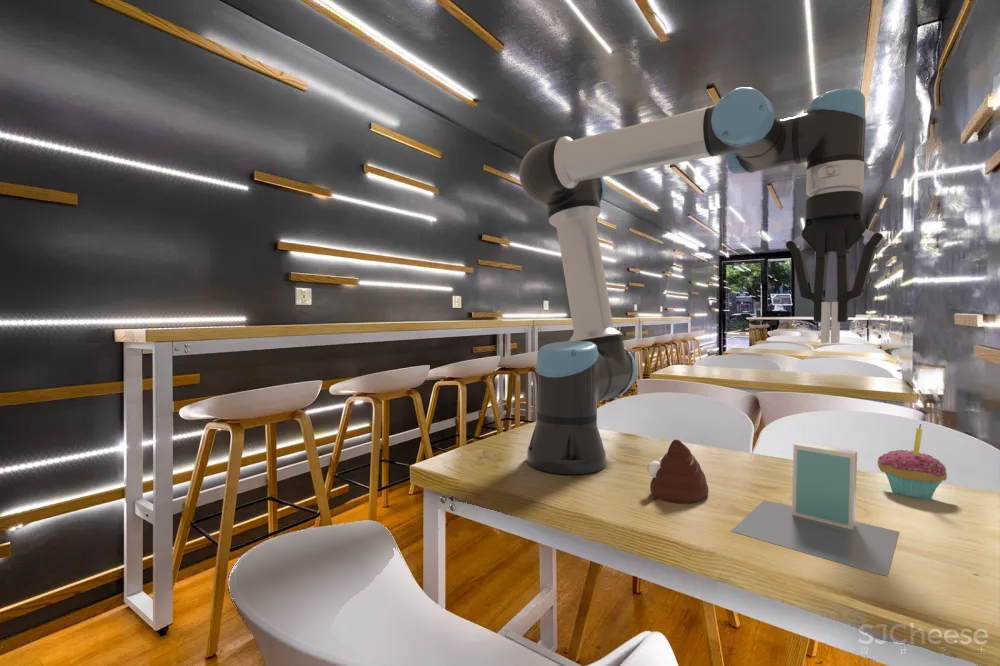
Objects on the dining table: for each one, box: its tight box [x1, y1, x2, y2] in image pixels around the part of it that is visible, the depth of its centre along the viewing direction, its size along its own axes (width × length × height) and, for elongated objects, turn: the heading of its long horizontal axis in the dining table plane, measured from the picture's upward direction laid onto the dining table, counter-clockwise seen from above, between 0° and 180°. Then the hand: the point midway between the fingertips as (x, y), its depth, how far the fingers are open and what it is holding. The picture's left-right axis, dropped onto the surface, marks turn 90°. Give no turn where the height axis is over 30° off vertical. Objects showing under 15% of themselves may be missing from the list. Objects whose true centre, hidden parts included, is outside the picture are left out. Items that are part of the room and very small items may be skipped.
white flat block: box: [791, 441, 858, 530], centre depth 67 cm, size 7×2×10 cm, turn 47°
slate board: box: [730, 499, 900, 578], centre depth 63 cm, size 16×15×1 cm
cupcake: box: [877, 423, 948, 501], centre depth 78 cm, size 9×8×12 cm
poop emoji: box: [647, 438, 710, 505], centre depth 77 cm, size 10×8×9 cm
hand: (830, 342), depth 78 cm, fingers closed
